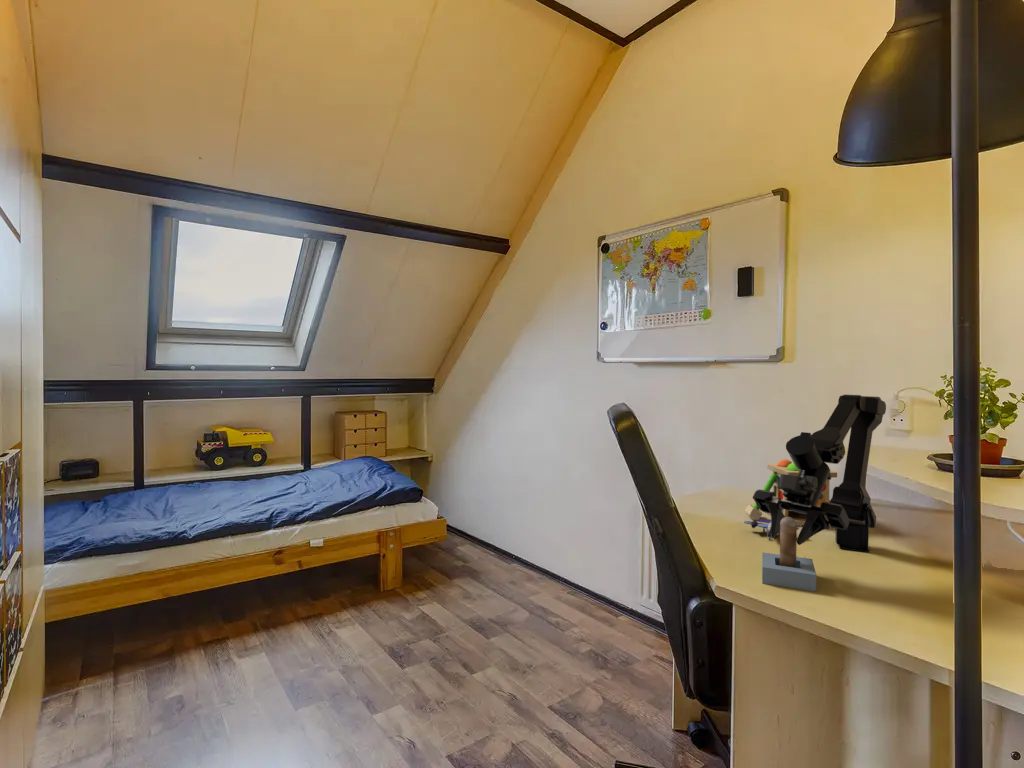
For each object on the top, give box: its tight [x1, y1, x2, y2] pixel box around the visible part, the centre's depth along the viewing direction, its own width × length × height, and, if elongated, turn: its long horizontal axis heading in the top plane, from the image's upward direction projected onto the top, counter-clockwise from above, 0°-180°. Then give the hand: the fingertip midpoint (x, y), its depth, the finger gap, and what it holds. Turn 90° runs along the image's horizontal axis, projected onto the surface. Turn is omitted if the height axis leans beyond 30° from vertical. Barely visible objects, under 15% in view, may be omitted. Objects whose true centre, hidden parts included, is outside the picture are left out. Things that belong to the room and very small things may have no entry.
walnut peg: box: [779, 517, 798, 568], centre depth 115 cm, size 3×3×14 cm
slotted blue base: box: [761, 552, 817, 593], centre depth 116 cm, size 10×10×4 cm
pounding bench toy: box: [744, 458, 838, 527], centre depth 161 cm, size 23×14×18 cm, turn 89°
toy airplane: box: [743, 518, 800, 541], centre depth 145 cm, size 13×14×4 cm
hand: (785, 540), depth 115 cm, fingers open, 5 cm apart
